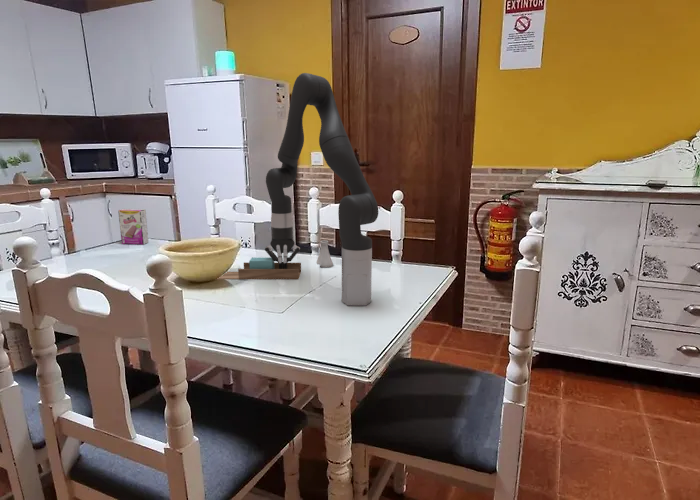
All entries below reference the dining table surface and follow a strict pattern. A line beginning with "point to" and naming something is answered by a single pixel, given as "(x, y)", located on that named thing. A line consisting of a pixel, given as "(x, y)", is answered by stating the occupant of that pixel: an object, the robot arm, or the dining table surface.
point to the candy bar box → (133, 226)
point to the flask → (324, 255)
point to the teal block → (261, 263)
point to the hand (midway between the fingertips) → (283, 272)
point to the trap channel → (266, 272)
